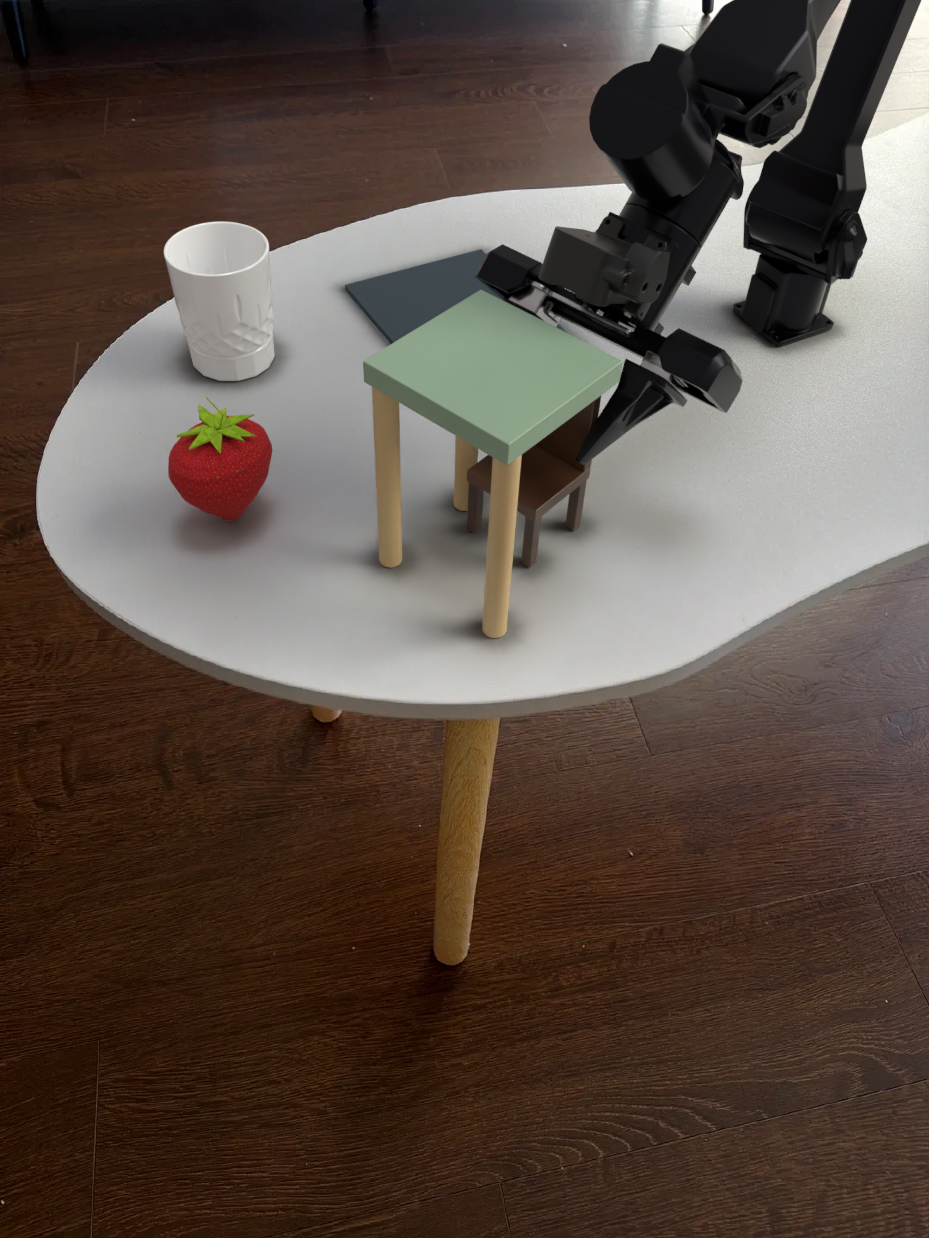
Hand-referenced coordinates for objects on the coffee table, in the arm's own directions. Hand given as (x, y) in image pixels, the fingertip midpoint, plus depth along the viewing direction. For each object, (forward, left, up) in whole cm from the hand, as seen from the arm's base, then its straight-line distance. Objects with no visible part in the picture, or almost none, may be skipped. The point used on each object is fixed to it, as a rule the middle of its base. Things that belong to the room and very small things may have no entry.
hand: (541, 441), depth 74 cm
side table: (+5, +2, -7) cm, 9 cm away
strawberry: (+19, -10, -7) cm, 23 cm away
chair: (+1, 0, -7) cm, 7 cm away
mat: (-7, -24, -7) cm, 26 cm away
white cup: (+12, -28, -7) cm, 31 cm away
